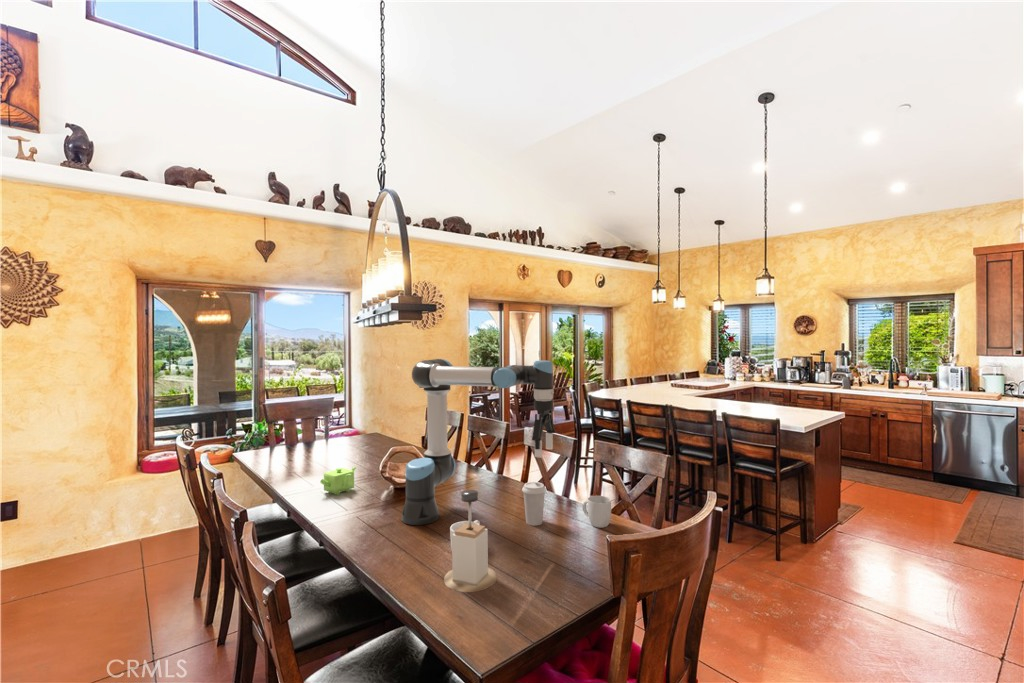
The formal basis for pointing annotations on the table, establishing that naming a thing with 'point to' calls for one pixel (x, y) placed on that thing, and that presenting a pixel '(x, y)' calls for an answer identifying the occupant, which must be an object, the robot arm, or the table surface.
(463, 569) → the white french press
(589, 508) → the mug
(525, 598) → the table surface
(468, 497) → the plunger
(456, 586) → the trivet
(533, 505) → the coffee cup
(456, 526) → the mug
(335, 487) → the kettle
